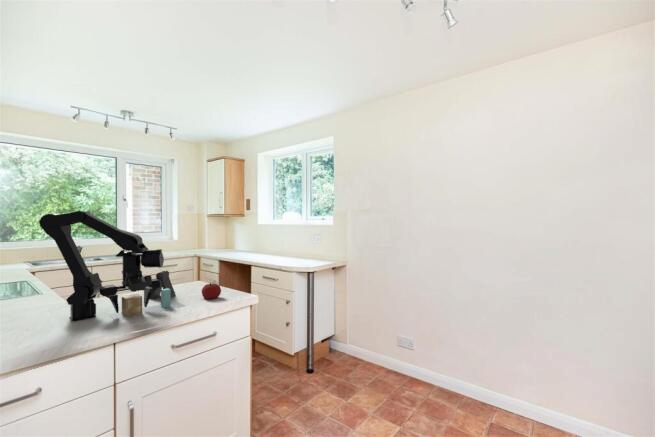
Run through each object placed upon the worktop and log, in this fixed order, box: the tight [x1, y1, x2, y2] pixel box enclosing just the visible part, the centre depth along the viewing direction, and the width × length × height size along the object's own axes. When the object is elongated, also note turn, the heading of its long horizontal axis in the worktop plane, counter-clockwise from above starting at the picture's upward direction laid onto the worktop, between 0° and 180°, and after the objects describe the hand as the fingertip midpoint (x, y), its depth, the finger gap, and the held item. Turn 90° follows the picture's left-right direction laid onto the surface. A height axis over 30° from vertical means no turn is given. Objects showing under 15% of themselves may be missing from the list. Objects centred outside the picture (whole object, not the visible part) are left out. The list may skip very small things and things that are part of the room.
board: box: [109, 301, 187, 322], centre depth 119 cm, size 24×10×1 cm, turn 139°
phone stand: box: [149, 270, 176, 300], centre depth 137 cm, size 9×6×12 cm, turn 92°
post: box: [160, 288, 171, 308], centre depth 123 cm, size 3×3×7 cm
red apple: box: [201, 282, 222, 301], centre depth 137 cm, size 8×8×7 cm
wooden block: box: [121, 293, 143, 317], centre depth 114 cm, size 5×5×7 cm
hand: (131, 309), depth 114 cm, fingers open, 9 cm apart
